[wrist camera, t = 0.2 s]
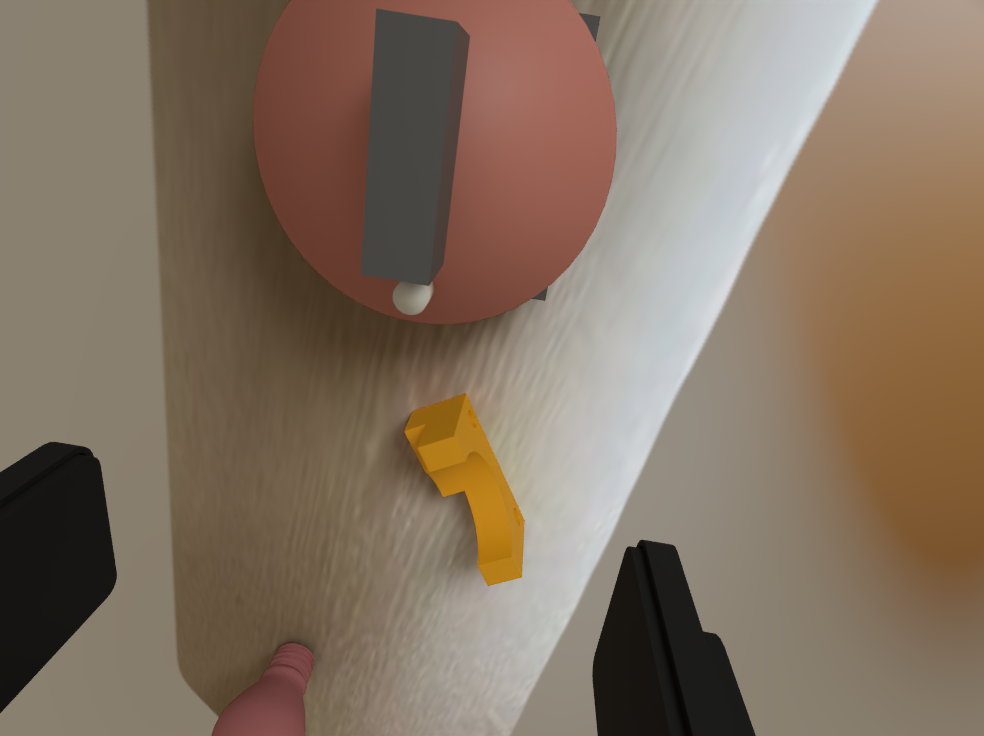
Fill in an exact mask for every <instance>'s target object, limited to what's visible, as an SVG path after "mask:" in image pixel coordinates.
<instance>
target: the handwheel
mask: <svg viewBox="0 0 984 736" xmlns="http://www.w3.org/2000/svg"><path fill="white" fill-rule="evenodd" d="M253 130H254V143H255V151H256V156H257V161H258V166H259V171H260V175H261V178H262V181H263V184H264V187H265V191H266V194H267V197H268V199H269V201H270V203H271V205H272V208H273V210H274V212H275V214H276V217H277V219H278V220H279V222H280V224H281V225H282V227H283V229H284V231H285V232H286V234H287V236H288V237H289V239H290V240H291V242H292V243H293V244H294V246H295V247H296V248H297V250H298V251H299V252H300V254H301V255H302V256H303V257H304V258H305V260H306V261H307V262H308V263H309V264H310V265H311V266H312V267H313V268H314V269H315V270H316V271H317V272H318V273H319V274H320V275H321V276H322V277H323V278H325V279H326V280H327V281H328V282H329V283H330V284H332V285H333V286H334V287H335V288H337V289H338V290H340V291H341V292H343V293H344V294H346V295H347V296H349V297H350V298H352V299H353V300H355V301H357V302H359V303H361V304H363V305H365V306H367V307H369V308H371V309H372V310H375V311H378V312H380V313H383V314H386V315H388V316H391V317H394V318H398V319H403V320H407V321H411V322H417V323H426V324H460V323H467V322H474V321H479V320H483V319H486V318H490V317H493V316H497V315H499V314H502V313H504V312H506V311H509V310H511V309H514V308H516V307H518V306H520V305H521V304H523V303H525V302H526V301H528V300H530V299H532V298H533V297H535V296H536V295H538V294H539V293H540V292H542V291H543V290H544V289H545V288H547V287H548V286H549V285H551V284H552V283H553V282H554V281H555V280H556V279H557V278H558V277H559V276H560V275H561V274H562V273H563V272H564V271H565V270H566V269H567V268H568V267H569V266H570V265H571V263H572V262H573V261H574V260H575V258H576V257H577V256H578V254H579V253H580V252H581V250H582V249H583V248H584V246H585V244H586V243H587V241H588V239H589V237H590V236H591V234H592V232H593V231H594V229H595V227H596V225H597V222H598V220H599V218H600V215H601V213H602V211H603V208H604V206H605V203H606V199H607V196H608V193H609V189H610V186H611V182H612V177H613V170H614V164H615V158H616V135H617V128H616V117H615V105H614V99H613V95H612V90H611V86H610V81H609V76H608V73H607V71H606V68H605V65H604V62H603V59H602V57H601V54H600V51H599V49H598V47H597V45H596V43H595V41H594V39H593V37H592V35H591V33H590V31H589V29H588V27H587V25H586V24H585V22H584V21H583V19H582V18H581V16H580V15H579V13H578V12H577V11H576V9H575V8H574V6H573V5H572V3H571V2H570V1H569V0H290V2H289V3H288V5H287V6H286V8H285V10H284V11H283V13H282V14H281V16H280V18H279V19H278V21H277V22H276V25H275V27H274V29H273V31H272V33H271V36H270V38H269V40H268V42H267V45H266V47H265V50H264V54H263V57H262V60H261V64H260V67H259V70H258V76H257V82H256V88H255V94H254V109H253Z"/></svg>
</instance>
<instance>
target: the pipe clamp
mask: <svg viewBox="0 0 984 736" xmlns="http://www.w3.org/2000/svg"><path fill="white" fill-rule="evenodd" d="M404 432H405V434H406V436H407V438H408V440H409V442H410V444H411V446H412V448H413V450H414V452H415V454H416V455H417V457H418V459H419V461H420V463H421V465H422V467H423V469H424V471H425V472H426V473H427V474H428V475H429V476H430V477H431V478H432V479H433V481H434V482H435V483H436V485H437V486H438V488H439V490H440V492H441V494H442V496H443V497H446V496H449V495H452V494H456V493H459V492H462V491H465V493H466V496H467V498H468V501H469V504H470V507H471V510H472V514H473V518H474V522H475V527H476V533H477V541H478V565H477V566H478V568H479V570H480V572H481V574H482V575H483V577H484V579H485V581H486V583H487V585H488V586H490V585H494V584H498V583H502V582H506V581H510V580H513V579H517V578H521V577H522V564H523V543H524V521H525V520H524V518H523V516H522V514H521V512H520V509H519V507H518V505H517V503H516V501H515V499H514V496H513V494H512V492H511V490H510V488H509V486H508V483H507V481H506V479H505V477H504V475H503V473H502V470H501V468H500V466H499V464H498V462H497V460H496V457H495V455H494V453H493V451H492V449H491V446H490V444H489V442H488V440H487V438H486V436H485V433H484V431H483V429H482V427H481V425H480V423H479V420H478V418H477V416H476V414H475V412H474V410H473V407H472V405H471V403H470V401H469V399H468V396H467V394H466V393H465V394H462V395H459V396H456V397H453V398H451V399H448V400H445V401H442V402H439V403H436V404H433V405H430V406H427V407H424V408H421V409H418V410H415V411H413V412H412V414H411V417H410V419H409V421H408V423H407V426H406V428H405V430H404Z"/></svg>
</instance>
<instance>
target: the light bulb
mask: <svg viewBox="0 0 984 736" xmlns="http://www.w3.org/2000/svg"><path fill="white" fill-rule="evenodd" d="M313 665H314V656H313V654H312V653H311V651H310V650H309V649H308V648H306V647H304V646H302V645H300V644H296V643H288V644H284V645H283V646H281V647H280V648H279V649H278V651H277V653H276V655H275V656H274V658H273V659H272V661H271V663H270V665H269V668H268V669H267V670H265V671H264V673H263V674H262V677H261V679H260V680H259V681H258V682H257V683H255V684H254V685H252V686H251V687H250V688H248V689H247V690H245V691H244V692H243V693H242V694H241V695H239V696H238V697H237V698H236V699H234V700H233V701H232V702H231V703H230V704H229V705H228V706H227V707H226V708H225V710H224V711H223V712H222V714H221V715H220V717H219V718H218V721H217V722H216V724H215V727H214V730H213V732H212V736H305V731H306V728H305V710H304V702H303V695H304V693H305V691H306V688H307V682H308V681H309V677H310V675H311V672H312V670H313Z"/></svg>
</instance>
